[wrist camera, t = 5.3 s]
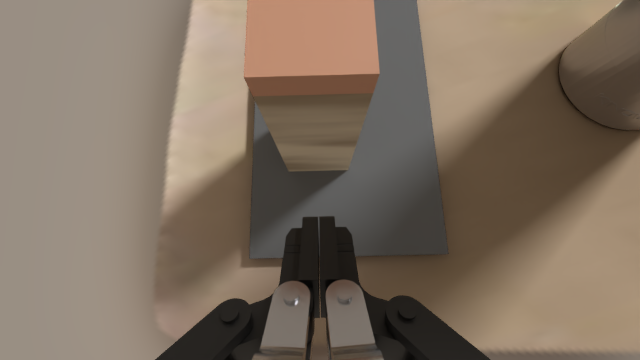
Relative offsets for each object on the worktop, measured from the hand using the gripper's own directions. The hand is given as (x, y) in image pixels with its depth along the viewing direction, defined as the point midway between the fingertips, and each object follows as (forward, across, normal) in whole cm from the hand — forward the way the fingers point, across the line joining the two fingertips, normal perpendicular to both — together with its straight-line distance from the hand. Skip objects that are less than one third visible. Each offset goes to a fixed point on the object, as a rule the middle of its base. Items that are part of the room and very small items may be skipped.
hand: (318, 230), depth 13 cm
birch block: (+10, 0, 0) cm, 10 cm away
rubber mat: (+13, -2, -2) cm, 13 cm away
